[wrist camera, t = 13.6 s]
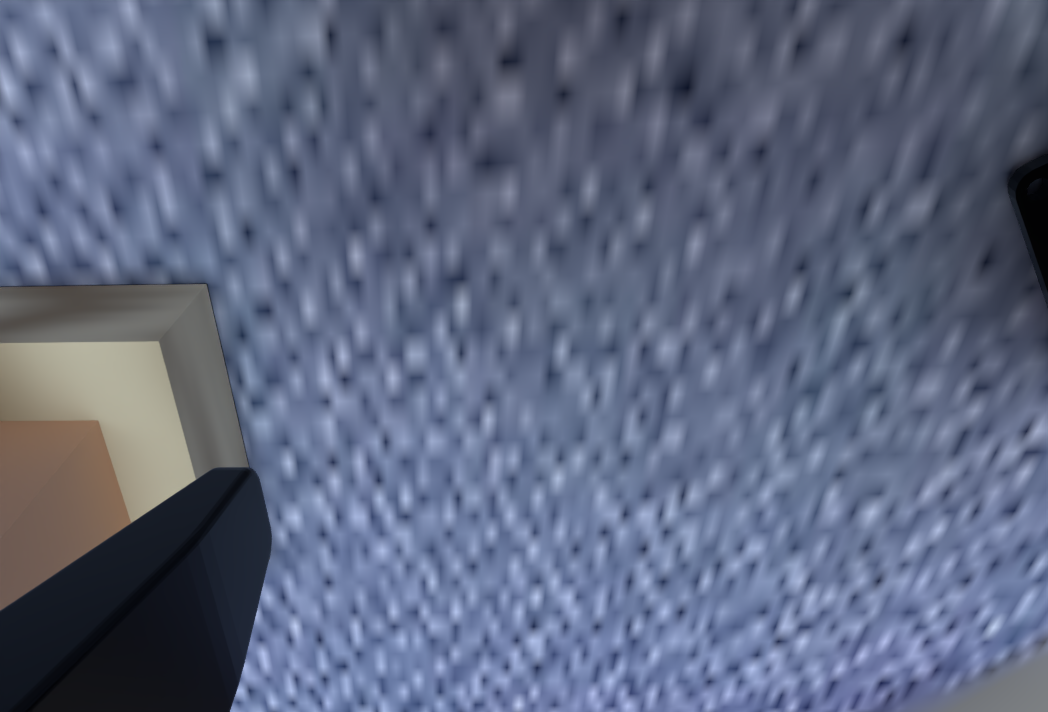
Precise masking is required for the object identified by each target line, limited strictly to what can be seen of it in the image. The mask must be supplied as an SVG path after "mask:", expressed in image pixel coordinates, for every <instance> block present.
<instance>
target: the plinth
mask: <svg viewBox="0 0 1048 712" xmlns="http://www.w3.org/2000/svg"><path fill="white" fill-rule="evenodd" d="M91 420H98V421H99V425H100V428H101V431H102V434H103V437H104V440H105V443H106V446H107V449H108V452H109V456H110V459H111V462H112V465H113V468H114V471H115V474H116V477H117V480H118V484H119V487H120V490H121V493H122V496H123V499H124V502H125V505H126V508H127V511H128V515H129V518H130V521H131V523H132V522H133V521H135V520H136V519H138V518H139V517H141V516H142V515H144V514H145V513H147V512H148V511H150V510H151V509H153V508H154V507H156V506H157V505H159V504H160V503H162V502H163V501H165V500H166V499H168V498H169V497H171V496H172V495H174V494H175V493H177V492H178V491H180V490H181V489H183V488H184V487H186V486H187V485H188V484H190V483H191V482H193V481H194V480H196V479H197V478H199V477H200V476H202V475H203V474H205V473H206V472H208V471H210V470H211V469H213V468H217V467H249V465H248V461H247V457H246V452H245V448H244V444H243V439H242V435H241V431H240V426H239V422H238V418H237V413H236V409H235V405H234V401H233V396H232V392H231V388H230V383H229V379H228V375H227V370H226V366H225V362H224V357H223V353H222V349H221V344H220V340H219V336H218V331H217V327H216V323H215V318H214V314H213V310H212V305H211V301H210V297H209V292H208V288H207V284H171V285H104V286H38V287H0V421H91ZM269 559H270V557H269Z"/></svg>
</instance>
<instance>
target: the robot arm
mask: <svg viewBox="0 0 1048 712" xmlns="http://www.w3.org/2000/svg"><path fill="white" fill-rule="evenodd" d="M1039 178H1043V185H1042V187H1041V188H1040V189H1039V190H1038V191H1037V192H1035V193H1032V194H1027V188H1028V187H1029V185H1030V183H1032V182H1033V181H1034V180H1036V179H1039ZM1008 193H1009V196H1010V199H1011V202H1012V205H1013V208H1014V211H1015V214H1016V217H1017V220H1018V223H1019V225H1020V228H1021V231H1022V234H1023V237H1024V240H1025V243H1026V246H1027V249H1028V251H1029V254H1030V257H1031V260H1032V263H1033V266H1034V269H1035V272H1036V275H1037V277H1038V280H1039V283H1040V286H1041V289H1042V292H1043V295H1044V298H1045V301H1046V303H1047V306H1048V154H1046V155H1044V156H1041V157H1039V158H1037V159H1035V160H1033V161H1031V162H1029V163H1027V164H1025V165H1023V166H1022V167H1020V168H1019V169H1017V170H1016V171H1015V173H1014V174H1013V175H1012V176H1011V178H1010V181H1009V184H1008ZM271 545H272V534H271V527H270V522H269V518H268V514H267V509H266V505H265V501H264V496H263V492H262V487H261V483H260V479H259V477H258V475H257V473H256V471H254V470H253V469H251V468H250V467H217V468H213V469H211V470H210V471H208V472H206V473H205V474H203V475H202V476H200V477H199V478H197V479H196V480H194V481H193V482H191V483H190V484H188V485H187V486H186V487H184V488H183V489H181V490H180V491H178V492H177V493H175V494H174V495H172V496H171V497H169V498H168V499H166V500H165V501H163V502H162V503H160V504H159V505H157V506H156V507H154V508H153V509H151V510H150V511H148V512H147V513H145V514H144V515H142V516H141V517H139V518H138V519H136V520H135V521H133V522H132V523H130V524H129V525H127V526H126V527H124V528H123V529H121V530H120V531H118V532H117V533H115V534H114V535H112V536H111V537H109V538H108V539H106V540H105V541H103V542H102V543H100V544H99V545H97V546H96V547H94V548H93V549H91V550H90V551H88V552H87V553H86V554H84V555H83V556H81V557H80V558H78V559H77V560H75V561H74V562H72V563H71V564H69V565H68V566H66V567H65V568H63V569H62V570H60V571H59V572H57V573H56V574H54V575H53V576H51V577H50V578H48V579H47V580H45V581H44V582H42V583H41V584H39V585H38V586H36V587H35V588H33V589H32V590H30V591H29V592H27V593H26V594H24V595H23V596H21V597H20V598H18V599H17V600H15V601H14V602H12V603H11V604H9V605H8V606H6V607H5V608H3V609H2V610H0V712H230V709H231V706H232V703H233V700H234V697H235V694H236V691H237V688H238V685H239V682H240V678H241V674H242V670H243V667H244V663H245V659H246V654H247V650H248V646H249V642H250V637H251V633H252V629H253V625H254V621H255V616H256V612H257V608H258V604H259V600H260V595H261V591H262V587H263V583H264V578H265V574H266V570H267V566H268V562H269V557H270V553H271Z"/></svg>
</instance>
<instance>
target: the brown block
mask: <svg viewBox="0 0 1048 712" xmlns="http://www.w3.org/2000/svg"><path fill="white" fill-rule="evenodd" d="M130 523H131V521H130V518H129V515H128V511H127V508H126V505H125V502H124V499H123V496H122V493H121V490H120V487H119V484H118V480H117V477H116V474H115V471H114V468H113V465H112V462H111V459H110V456H109V452H108V449H107V446H106V443H105V440H104V437H103V434H102V431H101V428H100V425H99V421H98V420H91V421H0V610H2V609H3V608H5V607H6V606H8V605H9V604H11V603H12V602H14V601H15V600H17V599H18V598H20V597H21V596H23V595H24V594H26V593H27V592H29V591H30V590H32V589H33V588H35V587H36V586H38V585H39V584H41V583H42V582H44V581H45V580H47V579H48V578H50V577H51V576H53V575H54V574H56V573H57V572H59V571H60V570H62V569H63V568H65V567H66V566H68V565H69V564H71V563H72V562H74V561H75V560H77V559H78V558H80V557H81V556H83V555H84V554H86V553H87V552H88V551H90V550H91V549H93V548H94V547H96V546H97V545H99V544H100V543H102V542H103V541H105V540H106V539H108V538H109V537H111V536H112V535H114V534H115V533H117V532H118V531H120V530H121V529H123V528H124V527H126V526H127V525H129V524H130Z"/></svg>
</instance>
